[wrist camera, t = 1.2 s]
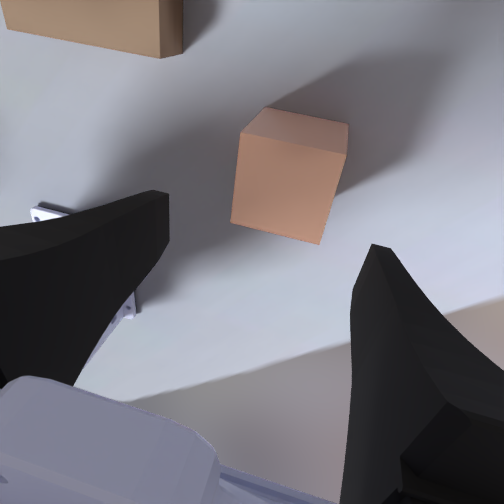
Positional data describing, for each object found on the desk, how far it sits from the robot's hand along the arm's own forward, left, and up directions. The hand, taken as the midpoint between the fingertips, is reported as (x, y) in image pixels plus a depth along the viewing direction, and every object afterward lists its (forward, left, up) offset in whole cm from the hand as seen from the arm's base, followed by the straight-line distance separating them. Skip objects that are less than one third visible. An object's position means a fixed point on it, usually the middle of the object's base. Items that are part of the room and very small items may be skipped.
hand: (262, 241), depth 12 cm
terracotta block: (0, 0, -9) cm, 9 cm away
